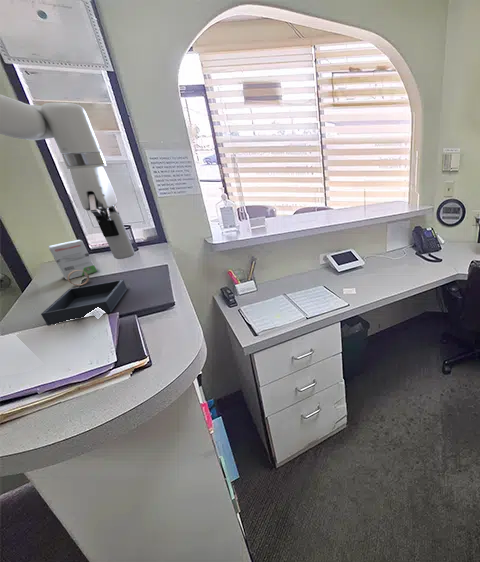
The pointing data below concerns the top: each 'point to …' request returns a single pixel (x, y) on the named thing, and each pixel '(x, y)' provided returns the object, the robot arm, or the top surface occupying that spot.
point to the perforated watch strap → (84, 274)
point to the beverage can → (120, 240)
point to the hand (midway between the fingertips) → (115, 232)
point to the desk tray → (85, 301)
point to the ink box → (72, 258)
